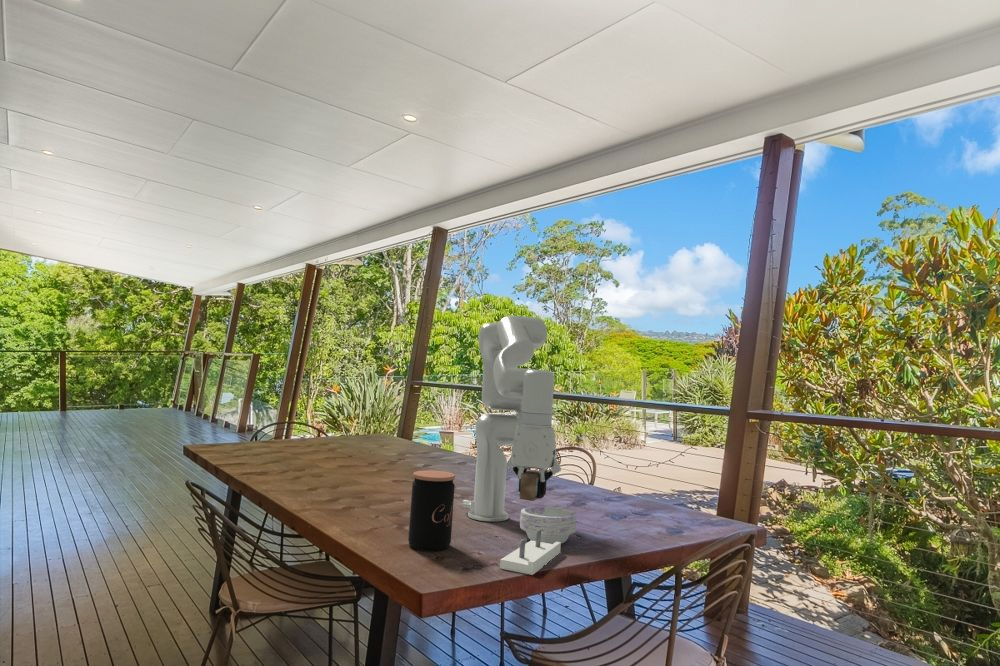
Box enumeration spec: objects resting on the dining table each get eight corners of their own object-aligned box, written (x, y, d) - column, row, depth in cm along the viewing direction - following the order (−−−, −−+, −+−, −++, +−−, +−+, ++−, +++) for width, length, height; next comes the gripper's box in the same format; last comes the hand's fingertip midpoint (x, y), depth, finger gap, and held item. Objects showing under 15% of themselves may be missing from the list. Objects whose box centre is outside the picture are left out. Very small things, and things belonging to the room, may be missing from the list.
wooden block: (519, 498, 148) (520, 473, 148) (529, 493, 154) (530, 469, 155) (533, 501, 146) (535, 475, 147) (544, 495, 153) (545, 471, 153)
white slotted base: (499, 568, 142) (501, 541, 142) (530, 548, 160) (532, 524, 160) (532, 575, 138) (534, 547, 139) (560, 553, 157) (561, 529, 157)
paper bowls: (533, 530, 179) (534, 502, 179) (583, 539, 172) (584, 510, 172) (509, 541, 166) (511, 511, 166) (562, 552, 158) (564, 520, 159)
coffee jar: (432, 555, 149) (438, 479, 150) (398, 546, 154) (404, 473, 155) (458, 546, 158) (463, 474, 159) (425, 537, 163) (430, 468, 164)
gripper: (499, 418, 152) (494, 494, 150) (564, 424, 145) (559, 503, 144) (510, 417, 158) (506, 489, 157) (573, 422, 152) (569, 498, 150)
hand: (531, 495), depth 150 cm, fingers closed on wooden block, 3 cm apart
